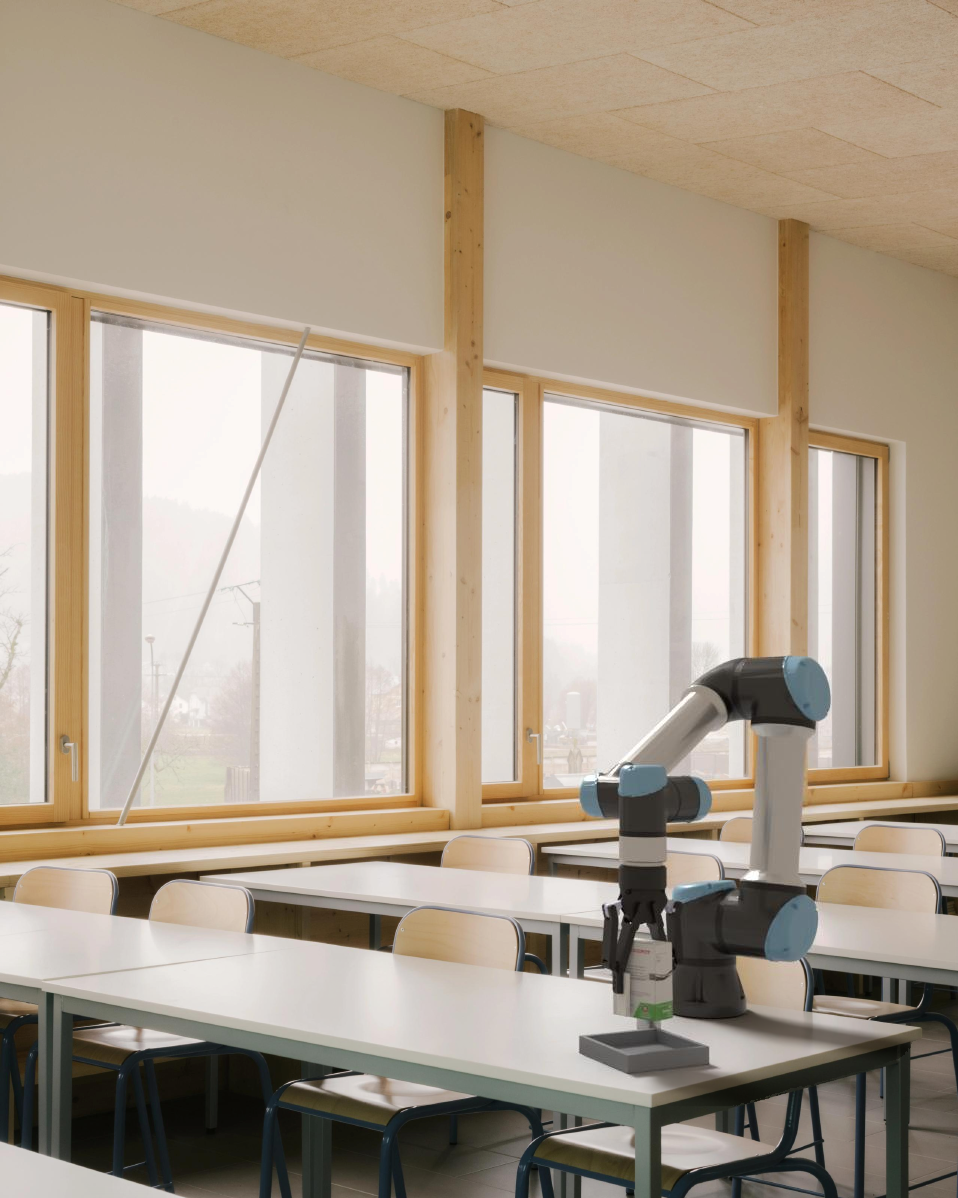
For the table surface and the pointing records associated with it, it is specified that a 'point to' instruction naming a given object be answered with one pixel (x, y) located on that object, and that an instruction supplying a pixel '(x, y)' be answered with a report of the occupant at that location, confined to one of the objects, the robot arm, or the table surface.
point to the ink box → (649, 980)
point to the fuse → (647, 1024)
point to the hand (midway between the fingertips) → (642, 1013)
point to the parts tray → (643, 1050)
